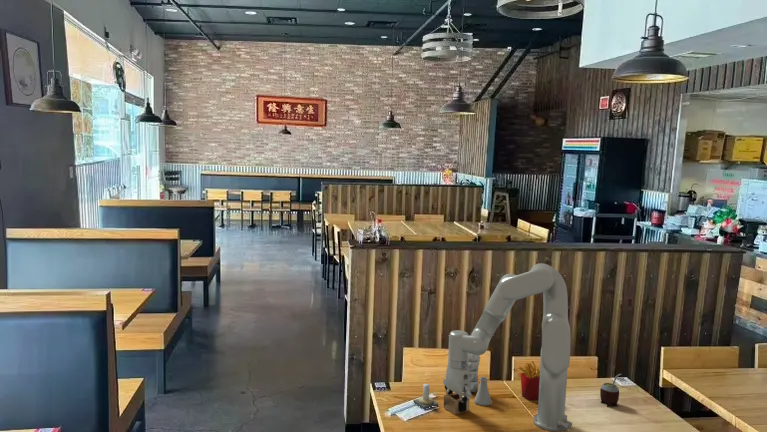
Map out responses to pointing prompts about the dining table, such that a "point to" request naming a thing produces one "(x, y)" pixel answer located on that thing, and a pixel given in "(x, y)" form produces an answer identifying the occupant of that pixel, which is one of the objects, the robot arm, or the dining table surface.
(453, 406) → the collar
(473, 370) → the plastic bottle
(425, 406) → the post stand
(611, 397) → the mate gourd
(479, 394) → the flask
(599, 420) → the dining table surface
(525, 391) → the french fries
